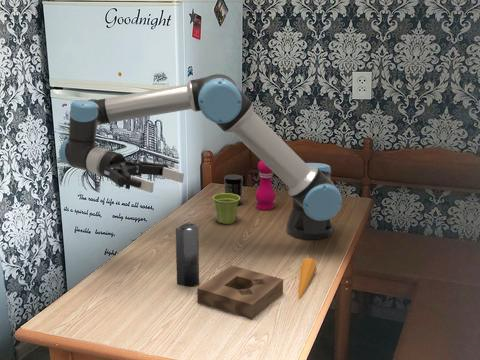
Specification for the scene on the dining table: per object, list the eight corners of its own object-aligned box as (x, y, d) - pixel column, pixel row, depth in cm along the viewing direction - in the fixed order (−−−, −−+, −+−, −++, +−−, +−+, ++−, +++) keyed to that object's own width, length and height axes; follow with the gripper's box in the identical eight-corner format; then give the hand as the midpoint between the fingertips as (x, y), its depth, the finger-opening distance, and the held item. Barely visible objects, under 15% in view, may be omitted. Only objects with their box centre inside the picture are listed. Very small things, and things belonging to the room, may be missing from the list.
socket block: (197, 302, 151) (197, 288, 150) (230, 278, 164) (231, 265, 163) (252, 319, 143) (252, 304, 142) (282, 293, 156) (283, 279, 155)
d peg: (176, 283, 160) (175, 228, 156) (187, 276, 165) (186, 222, 160) (192, 288, 158) (191, 232, 153) (202, 281, 162) (202, 226, 157)
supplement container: (239, 207, 220) (239, 180, 217) (222, 205, 222) (222, 178, 219) (244, 201, 226) (244, 175, 223) (227, 200, 228) (227, 173, 225)
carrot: (305, 271, 171) (299, 257, 170) (319, 267, 169) (314, 254, 168) (293, 310, 153) (286, 296, 152) (309, 307, 152) (303, 292, 150)
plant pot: (234, 215, 212) (234, 191, 209) (243, 224, 204) (244, 200, 201) (209, 218, 209) (209, 194, 206) (217, 227, 200) (217, 203, 198)
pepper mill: (273, 211, 216) (274, 158, 210) (253, 210, 217) (254, 156, 211) (276, 205, 223) (277, 153, 217) (257, 203, 224) (258, 152, 218)
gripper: (134, 168, 180) (192, 186, 171) (74, 184, 158) (137, 206, 149) (136, 144, 178) (195, 161, 168) (75, 157, 156) (139, 177, 147)
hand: (168, 182), depth 159 cm, fingers open, 13 cm apart
